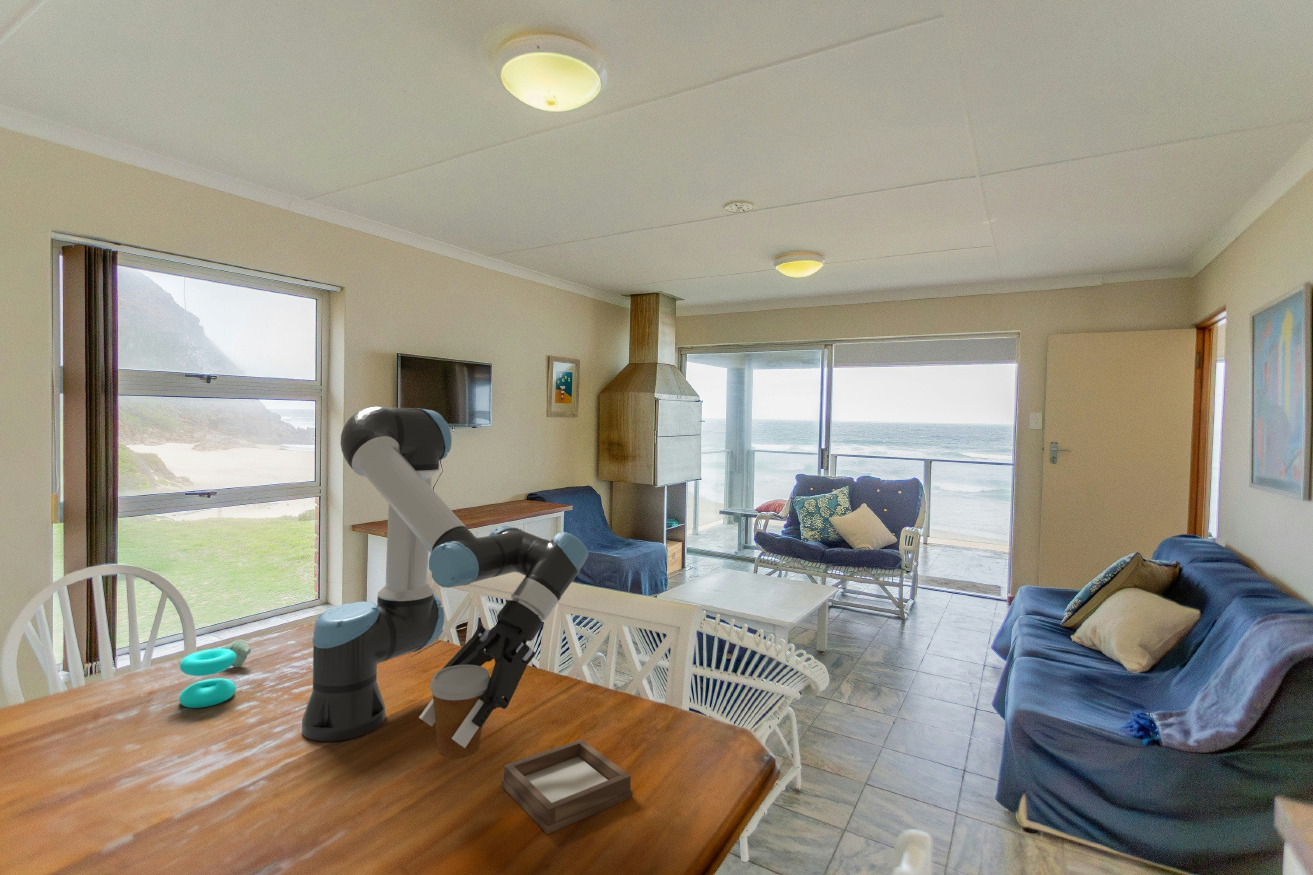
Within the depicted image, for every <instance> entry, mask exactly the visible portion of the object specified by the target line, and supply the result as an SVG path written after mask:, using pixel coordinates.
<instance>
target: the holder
mask: <svg viewBox="0 0 1313 875" xmlns="http://www.w3.org/2000/svg"><path fill="white" fill-rule="evenodd" d="M503 765H504V766H503V778H502V779H501V785H500V786H501V787H502V788H503V789H504V790H505V791H506V792H507V793H508V795H509V796H510V797H511V798H512V799H513V800H514V801H515V802H516V803H517V805H519V806H520V807H521V808H522V809H523V810H524V812H526V814H528V815H529V817H530V818H531V819H532V820H534V822H535V823H536V824H537V825H538V826H539V827H540V828H541V830H543V831H544V833H545V834H546V835H549V834H552V833H554V832H556V831H558V830H560V829H562V828H565V827H568V826H570V825H572V824H574V823H577V822H580V821H581V820H583V819H586V818H588V817H590V816H593V815H595V814H597V813H600V812H602V811H604V810H607V809H608V808H611V807H613V806H615V805H618V804H620V803H622V802H624V801H627V800H629V799H632V798H633V796H634V793H633V792H634V791H633V789H631V777H632V776H631V775H630V774H628V772H626V771H625V770H624V769H622V768H621V767H620V766H618V765H617V764H616V763H614V762H613V761H611V760H610V759H609V758H608V757H606V756H605V755H604V754H602V753H601V752H599V751H598V750H597V749H595V748H594V747H593V746H592V745H590V744H589V743H587V741H585V740H584V739H582V738H580V739H577V740H574V741H571V742H569V743H565V744H563V745H559V746H556V747H553V748H551V749H548V750H544V751H542V752H539V753H537V754H533V755H531V756H528V757H527V756H526V757H524V758H521V759H519V760H516V761H513V762H509V763H507V764H503Z"/></svg>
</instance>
